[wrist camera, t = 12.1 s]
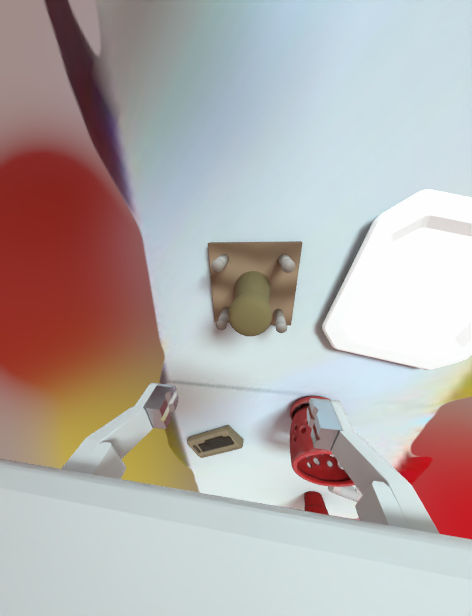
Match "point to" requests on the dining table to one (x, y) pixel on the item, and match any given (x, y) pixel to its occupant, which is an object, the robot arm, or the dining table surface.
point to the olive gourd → (251, 304)
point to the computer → (215, 441)
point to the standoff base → (262, 258)
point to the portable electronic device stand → (345, 490)
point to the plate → (410, 285)
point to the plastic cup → (315, 503)
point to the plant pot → (312, 451)
